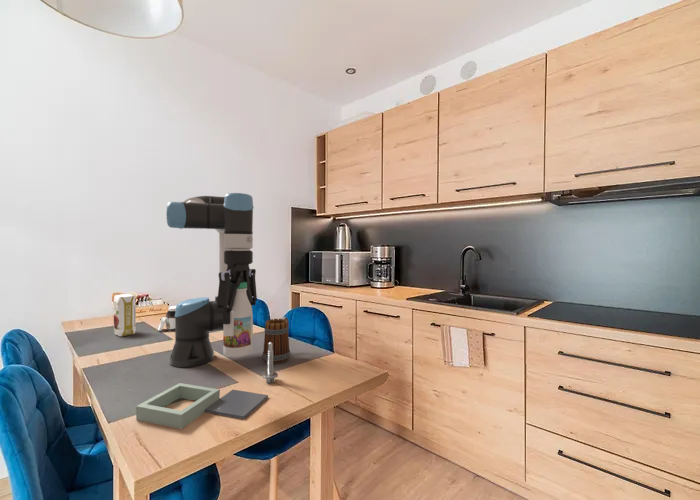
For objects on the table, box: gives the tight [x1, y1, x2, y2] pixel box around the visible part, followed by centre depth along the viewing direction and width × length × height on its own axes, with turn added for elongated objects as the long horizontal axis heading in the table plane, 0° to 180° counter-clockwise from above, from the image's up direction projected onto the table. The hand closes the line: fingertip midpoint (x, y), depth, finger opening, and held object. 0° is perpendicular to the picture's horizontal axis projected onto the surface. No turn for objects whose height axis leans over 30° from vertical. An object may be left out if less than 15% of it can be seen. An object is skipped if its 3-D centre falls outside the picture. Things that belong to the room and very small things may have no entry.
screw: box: [262, 342, 279, 384], centre depth 104 cm, size 13×5×5 cm
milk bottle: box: [222, 282, 254, 359], centre depth 88 cm, size 8×8×20 cm
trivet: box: [204, 389, 269, 420], centre depth 89 cm, size 12×12×1 cm
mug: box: [262, 316, 291, 365], centre depth 126 cm, size 16×11×15 cm
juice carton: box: [113, 293, 137, 337], centre depth 154 cm, size 8×9×19 cm
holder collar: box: [135, 382, 221, 430], centre depth 86 cm, size 14×14×4 cm
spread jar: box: [157, 305, 177, 332], centre depth 163 cm, size 12×11×12 cm
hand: (238, 331), depth 88 cm, fingers closed on milk bottle, 8 cm apart
